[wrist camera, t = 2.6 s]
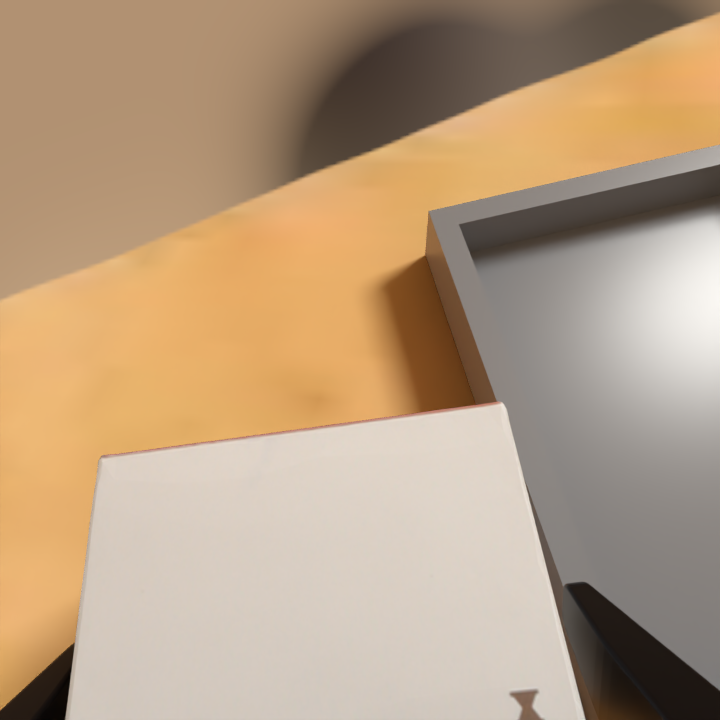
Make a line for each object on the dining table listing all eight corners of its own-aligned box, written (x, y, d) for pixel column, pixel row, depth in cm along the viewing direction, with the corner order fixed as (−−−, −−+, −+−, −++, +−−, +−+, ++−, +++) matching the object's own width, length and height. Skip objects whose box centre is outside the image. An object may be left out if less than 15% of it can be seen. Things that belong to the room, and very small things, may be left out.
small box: (456, 483, 18) (518, 392, 8) (487, 650, 16) (622, 789, 6) (252, 507, 18) (88, 446, 9) (255, 676, 16) (33, 848, 6)
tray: (1101, 652, 14) (1266, 673, 12) (601, 774, 14) (649, 825, 11) (745, 180, 23) (793, 127, 20) (425, 254, 22) (428, 211, 20)
